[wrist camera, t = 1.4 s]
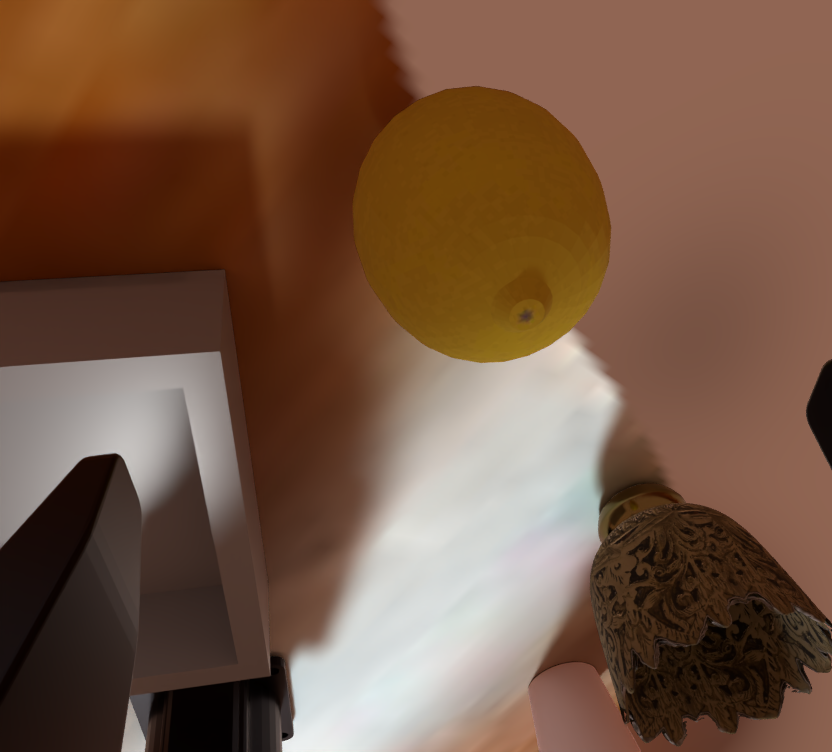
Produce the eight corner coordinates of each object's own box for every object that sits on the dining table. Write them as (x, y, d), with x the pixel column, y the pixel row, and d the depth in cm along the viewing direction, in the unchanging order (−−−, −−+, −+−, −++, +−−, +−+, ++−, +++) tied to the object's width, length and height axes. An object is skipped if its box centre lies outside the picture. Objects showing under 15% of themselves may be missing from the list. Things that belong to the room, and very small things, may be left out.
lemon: (429, -3, 17) (530, 101, 11) (580, 137, 20) (728, 283, 14) (295, 178, 19) (315, 353, 13) (447, 283, 22) (525, 467, 16)
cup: (744, 430, 29) (882, 604, 22) (695, 554, 33) (799, 726, 27) (561, 450, 27) (652, 639, 21) (536, 575, 32) (606, 761, 26)
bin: (268, 583, 29) (270, 676, 26) (-123, 630, 27) (-172, 738, 24) (224, 269, 21) (219, 351, 17) (-351, 300, 18) (-475, 401, 15)
